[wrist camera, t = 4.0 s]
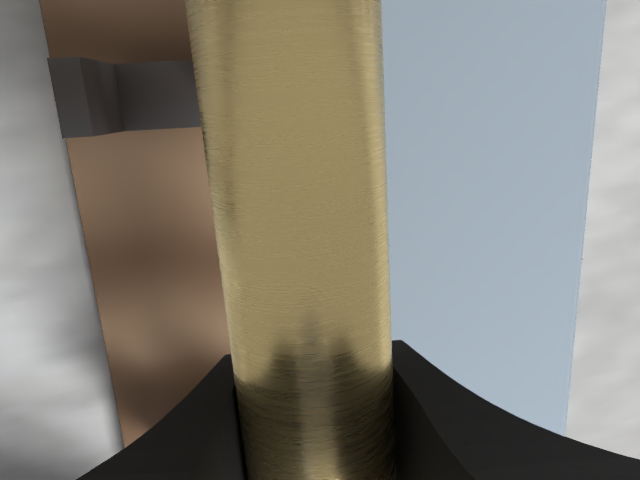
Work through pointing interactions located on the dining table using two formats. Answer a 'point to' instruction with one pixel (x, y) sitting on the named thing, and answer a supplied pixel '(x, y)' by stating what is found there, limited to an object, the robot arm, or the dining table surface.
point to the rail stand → (140, 195)
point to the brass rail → (301, 228)
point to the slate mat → (491, 189)
